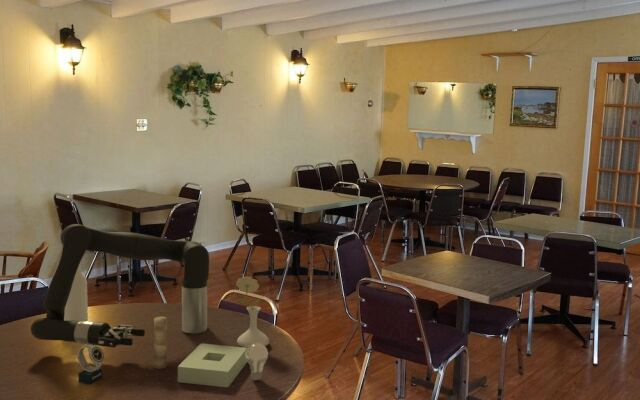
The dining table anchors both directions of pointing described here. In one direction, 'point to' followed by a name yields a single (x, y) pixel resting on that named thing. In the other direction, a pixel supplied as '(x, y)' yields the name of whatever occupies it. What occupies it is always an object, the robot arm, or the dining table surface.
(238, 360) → the hole block
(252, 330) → the flower in vase
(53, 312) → the robot arm
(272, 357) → the dining table surface
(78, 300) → the alcohol
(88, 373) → the watch
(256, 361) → the light bulb
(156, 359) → the peg
